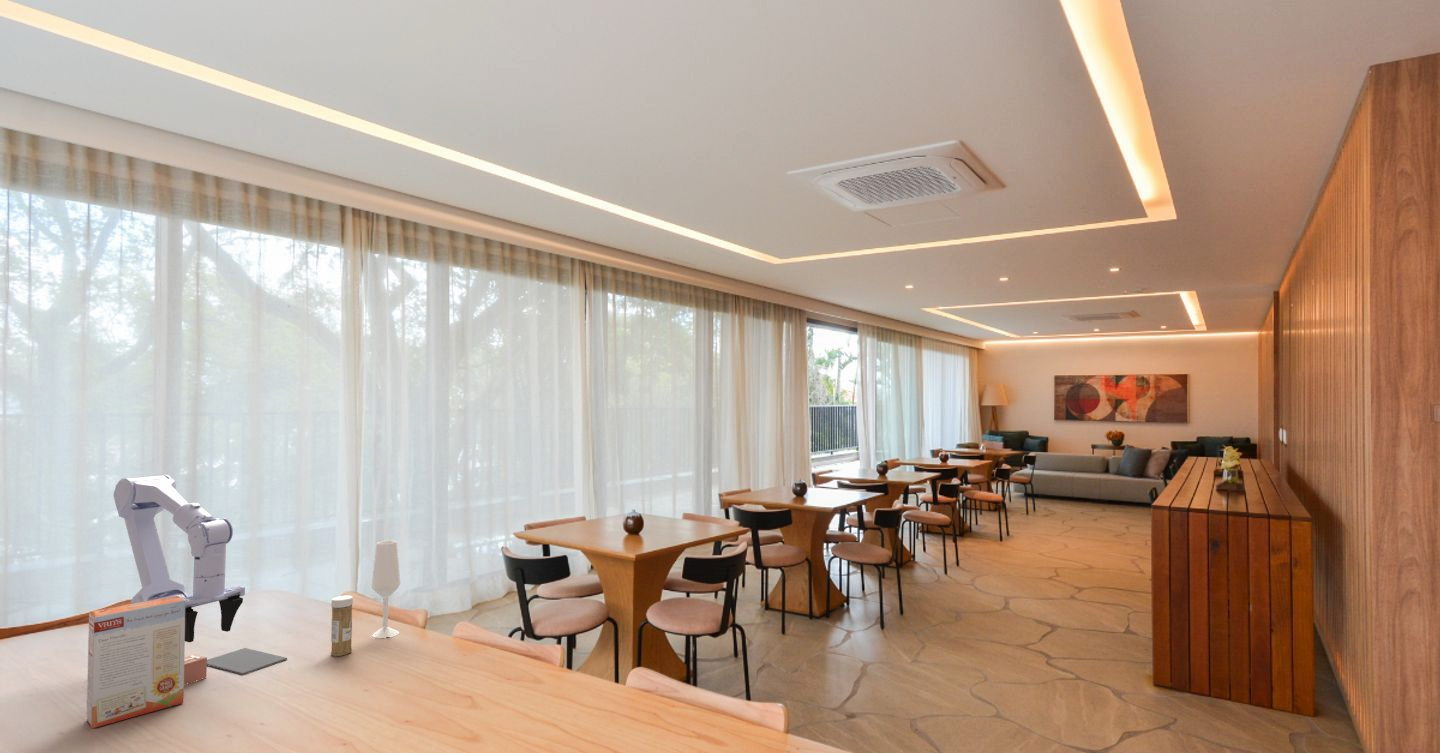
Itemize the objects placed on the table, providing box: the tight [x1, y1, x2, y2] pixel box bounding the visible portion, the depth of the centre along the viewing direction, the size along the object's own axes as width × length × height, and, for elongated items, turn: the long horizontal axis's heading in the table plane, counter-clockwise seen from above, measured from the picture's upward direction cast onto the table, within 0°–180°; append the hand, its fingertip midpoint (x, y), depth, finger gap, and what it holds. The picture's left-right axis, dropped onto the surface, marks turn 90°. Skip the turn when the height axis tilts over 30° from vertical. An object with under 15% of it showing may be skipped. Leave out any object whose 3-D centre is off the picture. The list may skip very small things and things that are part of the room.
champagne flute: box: [371, 539, 401, 639], centre depth 179 cm, size 7×7×24 cm
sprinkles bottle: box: [330, 595, 354, 657], centre depth 165 cm, size 5×5×14 cm
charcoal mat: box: [207, 647, 288, 676], centre depth 160 cm, size 16×10×1 cm, turn 66°
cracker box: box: [86, 596, 186, 729], centre depth 134 cm, size 14×6×21 cm, turn 141°
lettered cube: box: [184, 654, 208, 685], centre depth 149 cm, size 4×4×5 cm
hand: (207, 635), depth 153 cm, fingers open, 7 cm apart
